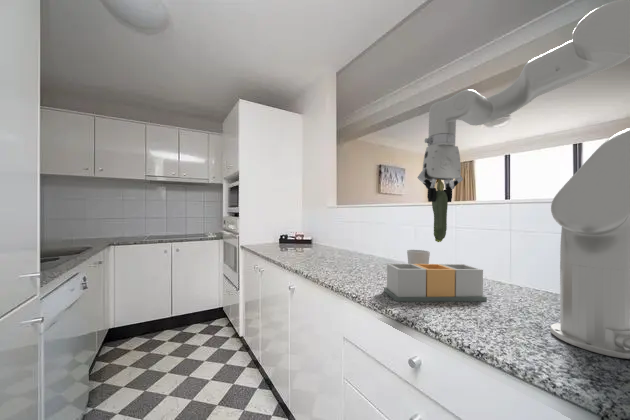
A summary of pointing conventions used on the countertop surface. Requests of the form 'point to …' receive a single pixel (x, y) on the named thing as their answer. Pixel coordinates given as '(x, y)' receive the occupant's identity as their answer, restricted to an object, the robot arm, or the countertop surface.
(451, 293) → the compartment organizer
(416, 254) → the cup
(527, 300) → the countertop surface
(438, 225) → the vegetable
